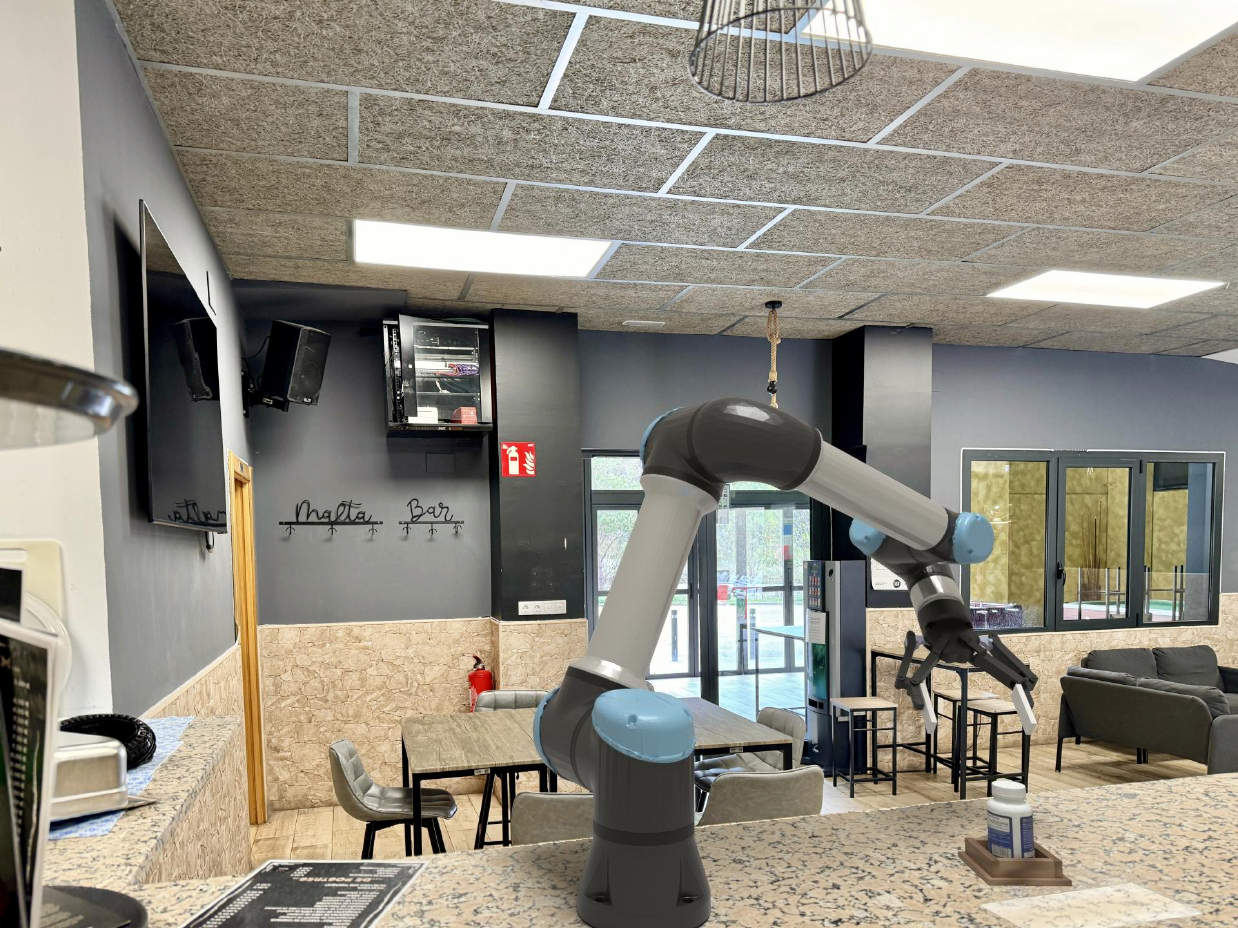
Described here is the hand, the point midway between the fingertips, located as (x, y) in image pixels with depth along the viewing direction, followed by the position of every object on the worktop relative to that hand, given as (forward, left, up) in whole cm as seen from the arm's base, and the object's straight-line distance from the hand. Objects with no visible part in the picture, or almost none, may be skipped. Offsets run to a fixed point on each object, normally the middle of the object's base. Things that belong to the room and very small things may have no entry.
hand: (982, 728), depth 118 cm
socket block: (0, -8, -16) cm, 18 cm away
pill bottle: (0, -8, -15) cm, 17 cm away
